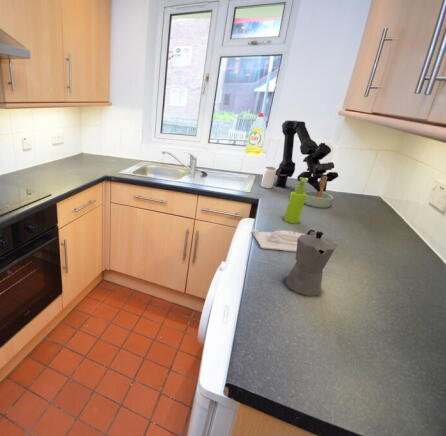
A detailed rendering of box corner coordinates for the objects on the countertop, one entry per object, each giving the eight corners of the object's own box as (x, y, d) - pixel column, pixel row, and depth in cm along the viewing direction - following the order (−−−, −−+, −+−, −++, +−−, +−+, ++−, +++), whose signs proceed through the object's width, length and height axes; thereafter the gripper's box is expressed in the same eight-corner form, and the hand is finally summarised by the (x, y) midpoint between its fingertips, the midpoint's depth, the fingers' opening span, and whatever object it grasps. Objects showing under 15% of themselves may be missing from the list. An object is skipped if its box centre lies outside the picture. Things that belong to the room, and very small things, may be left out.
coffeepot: (325, 304, 80) (347, 245, 73) (287, 295, 83) (304, 238, 76) (314, 274, 94) (332, 223, 86) (281, 268, 97) (296, 217, 90)
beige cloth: (246, 234, 122) (248, 223, 120) (303, 234, 121) (306, 223, 119) (264, 254, 106) (266, 242, 104) (329, 254, 106) (332, 242, 104)
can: (269, 185, 186) (274, 166, 181) (273, 188, 180) (278, 169, 175) (259, 185, 186) (263, 166, 181) (262, 188, 180) (267, 168, 175)
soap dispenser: (285, 223, 131) (297, 179, 124) (283, 217, 137) (294, 175, 130) (300, 225, 130) (313, 181, 122) (297, 219, 136) (309, 177, 128)
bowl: (300, 198, 165) (302, 189, 163) (328, 202, 160) (330, 193, 158) (302, 205, 154) (304, 196, 152) (332, 210, 148) (335, 200, 147)
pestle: (310, 200, 157) (318, 174, 152) (320, 202, 156) (329, 176, 150) (311, 203, 153) (319, 177, 148) (322, 204, 152) (330, 178, 146)
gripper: (307, 155, 148) (315, 183, 142) (342, 156, 150) (351, 183, 144) (293, 167, 159) (300, 193, 153) (326, 168, 160) (334, 194, 154)
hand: (322, 191), depth 151 cm, fingers closed on pestle, 2 cm apart
